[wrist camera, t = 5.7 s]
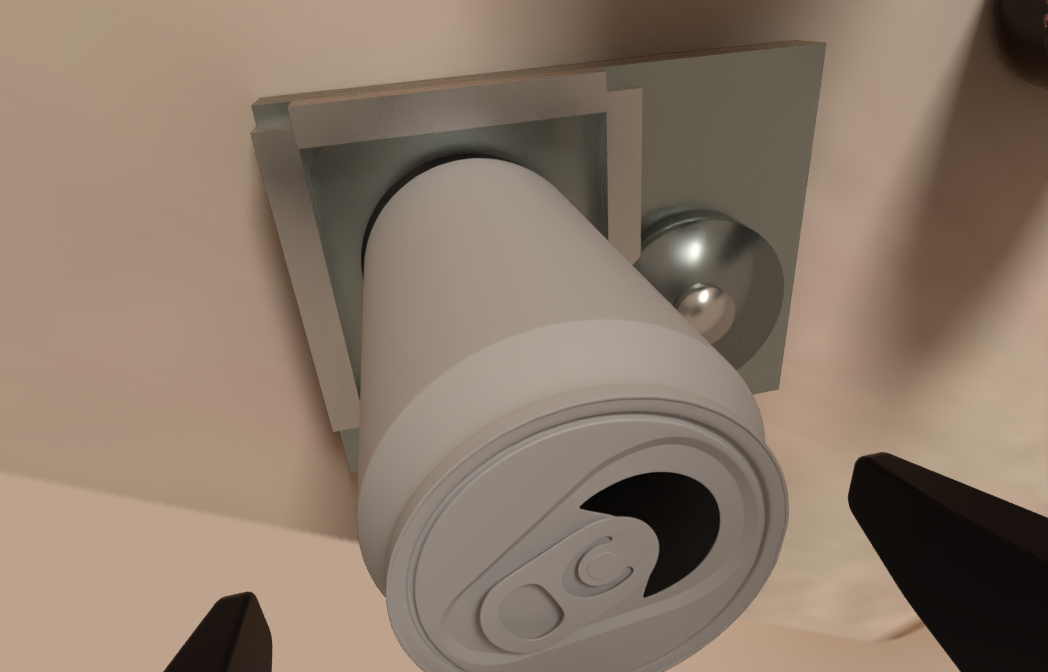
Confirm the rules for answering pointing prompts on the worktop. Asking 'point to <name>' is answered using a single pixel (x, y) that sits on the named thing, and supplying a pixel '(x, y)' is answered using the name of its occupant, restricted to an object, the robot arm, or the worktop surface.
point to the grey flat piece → (565, 184)
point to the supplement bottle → (1024, 38)
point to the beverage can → (547, 441)
